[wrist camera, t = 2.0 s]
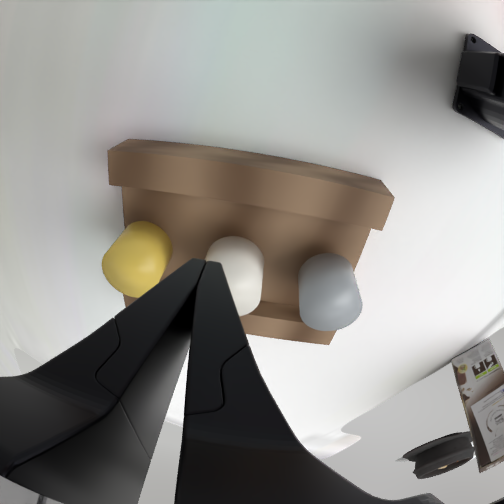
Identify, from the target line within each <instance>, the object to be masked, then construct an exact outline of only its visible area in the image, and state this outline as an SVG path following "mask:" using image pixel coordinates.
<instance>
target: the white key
mask: <svg viewBox="0 0 504 504" xmlns="http://www.w3.org/2000/svg"><path fill="white" fill-rule="evenodd" d="M205 260H206V262H207V261H215V262H220V263H221V264H222V267H223V270H224V273H225V276H226V279H227V282H228V285H229V288H230V291H231V294H232V297H233V300H234V302H235V305H236V308H237V311H238V314H239V316H243V315H246V314H248V313H250V312H252V311H253V310H254V309H255V308H256V307H257V306H258V304H259V302H260V299H261V289H262V279H263V269H264V257H263V254H262V252H261V250H260V249H259V248H258V247H257V246H256V245H255V244H254V243H253V242H251V241H250V240H248V239H245V238H242V237H237V236H228V237H223V238H221V239H219V240H217V241H215V242H214V243H213V244H212V245H211V246H210V248H209V250H208V252H207V255H206V258H205Z"/></svg>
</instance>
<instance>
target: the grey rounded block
mask: <svg viewBox="0 0 504 504" xmlns="http://www.w3.org/2000/svg"><path fill="white" fill-rule="evenodd" d="M298 285H299V308H300V317H301V319H302V321H303V322H304V323H305V324H306V325H307V326H309V327H311V328H313V329H316V330H320V331H334V330H339V329H342V328H344V327H346V326H348V325H350V324H351V323H353V322H354V321H355V320H356V319H357V318H358V316H359V315H360V313H361V310H362V300H361V296H360V293H359V289H358V285H357V282H356V278H355V275H354V271H353V268H352V265H351V263H350V262H349V261H348V260H347V259H346V258H344V257H343V256H341V255H338V254H334V253H323V254H318V255H316V256H313V257H311V258H310V259H308V260H307V261H306V262H305V263H304V264H303V265H302V266H301V268H300V270H299V274H298Z"/></svg>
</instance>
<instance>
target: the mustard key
mask: <svg viewBox="0 0 504 504" xmlns="http://www.w3.org/2000/svg"><path fill="white" fill-rule="evenodd" d="M172 253H173V247H172V243H171V240H170V238H169V237H168V235H167V234H166V233H165V232H164V231H163V230H162V229H161V228H160V227H159V226H157V225H155V224H153V223H150V222H147V221H137V222H133V223H131V224H130V225H128V226H127V228H126V229H125V230H124V231H123V232H122V234H121V235H120V236H119V237H118V238H117V240H116V241H115V242H114V243H113V245H112V246H111V247H110V248H109V250H108V251H107V252H106V254H105V255H104V257H103V259H102V270H103V273H104V275H105V277H106V279H107V280H108V282H109V283H110V284H111V285H112V286H113V287H114V288H115V289H117V290H118V291H119V292H121V293H123V294H125V295H127V296H131V297H136V298H139V297H140V296H142V295H143V294H144V293H146V292H147V291H148V290H150V289H151V288H152V287H154V286H155V285H156V284H158V283H159V281H160V279H161V277H162V275H163V273H164V271H165V269H166V267H167V265H168V263H169V261H170V259H171V257H172Z"/></svg>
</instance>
